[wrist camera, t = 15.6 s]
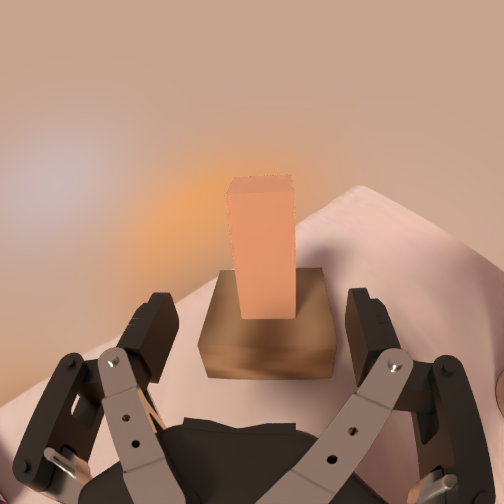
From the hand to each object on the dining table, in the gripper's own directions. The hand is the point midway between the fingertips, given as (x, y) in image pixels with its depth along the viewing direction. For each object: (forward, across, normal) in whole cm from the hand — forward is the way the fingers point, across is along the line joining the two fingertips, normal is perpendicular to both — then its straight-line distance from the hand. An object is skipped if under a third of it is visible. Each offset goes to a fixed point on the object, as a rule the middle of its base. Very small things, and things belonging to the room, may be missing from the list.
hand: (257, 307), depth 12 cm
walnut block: (+12, +1, +15) cm, 20 cm away
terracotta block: (+12, +1, +10) cm, 16 cm away
